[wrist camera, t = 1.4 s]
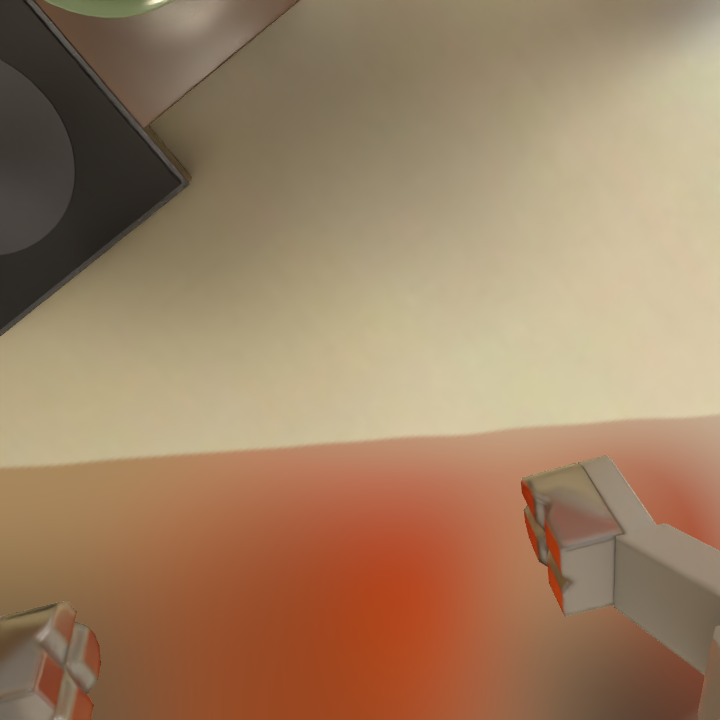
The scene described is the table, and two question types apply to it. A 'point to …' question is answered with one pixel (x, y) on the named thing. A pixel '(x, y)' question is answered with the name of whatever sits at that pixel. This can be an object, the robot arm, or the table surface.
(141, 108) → the wooden cubby
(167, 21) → the jar
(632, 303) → the table surface
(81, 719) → the robot arm
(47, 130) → the hot plate
